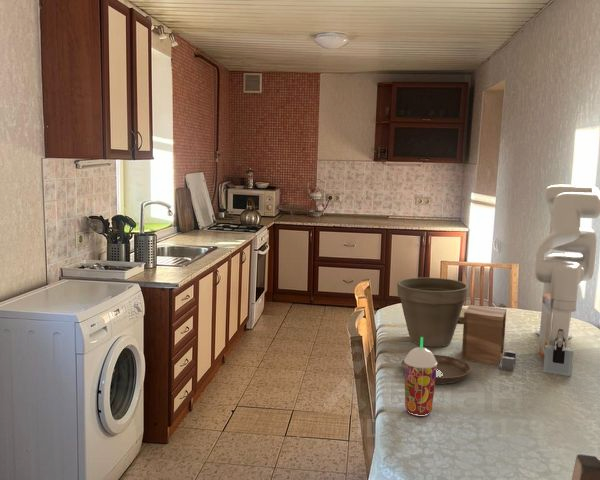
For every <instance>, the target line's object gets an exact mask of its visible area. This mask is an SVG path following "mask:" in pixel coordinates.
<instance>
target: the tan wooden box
mask: <svg viewBox="0 0 600 480" xmlns="http://www.w3.org/2000/svg"><path fill="white" fill-rule="evenodd" d="M466 309H467V310H466V311H465V312H464V324H463V325H462V326H463V328H462V331H463V332H462V345H461V360H462V361H464V360H465V361H470V362H476V363H481V364H489V365H495V366H499V365H500V362H501V359H502V357H503V356H504V351H505V335H506V322H507V321H506V320H507V309H506V308H501V307H491V306H483V305H473V304H470V305H468V306H467V308H466Z"/></svg>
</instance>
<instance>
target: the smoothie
mask: <svg viewBox="0 0 600 480" xmlns="http://www.w3.org/2000/svg"><path fill="white" fill-rule="evenodd" d="M434 355H435V354H433V352H432V351H431V350H430V349H428V348H427V347H425V346H423V337H421V340H420V345H419V346H417V347H414V348H413V349H411V350H409V352H408V353H407V355H406V357H405V358H404V359H403V360H404V362H405V364H404V368H405V370H404V407H405V409H406V411H407V410H408V411H409V412H410V413H413V414H418V415H425V414H428V413H429V412H431V411H432V410H433V403H434V402H433V401H434V394H435V386H436V384H435V379H436V370H437V363H438V362H437V361H436V359H435V356H434Z"/></svg>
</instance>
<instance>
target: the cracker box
mask: <svg viewBox="0 0 600 480" xmlns="http://www.w3.org/2000/svg"><path fill="white" fill-rule="evenodd" d="M549 304H550V294H546V293H542V303H541V315H540V324H539V326H540V327H539V328H540V335H539V337H538V338H539V339H538V348H537V351H538V352H539V354H540V355H541V356H542V358H543V359H544V355H545V345H551V346H554V341H552V342H551V341H550V332H551V319H552V311H553V310H552V309H550V308H549ZM567 345H568V342H567V343H565V348H568V347H567Z"/></svg>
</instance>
